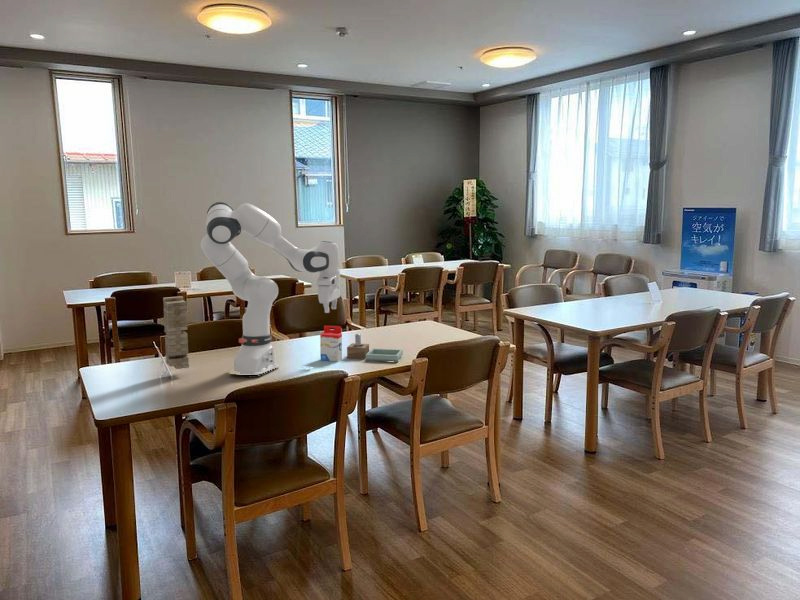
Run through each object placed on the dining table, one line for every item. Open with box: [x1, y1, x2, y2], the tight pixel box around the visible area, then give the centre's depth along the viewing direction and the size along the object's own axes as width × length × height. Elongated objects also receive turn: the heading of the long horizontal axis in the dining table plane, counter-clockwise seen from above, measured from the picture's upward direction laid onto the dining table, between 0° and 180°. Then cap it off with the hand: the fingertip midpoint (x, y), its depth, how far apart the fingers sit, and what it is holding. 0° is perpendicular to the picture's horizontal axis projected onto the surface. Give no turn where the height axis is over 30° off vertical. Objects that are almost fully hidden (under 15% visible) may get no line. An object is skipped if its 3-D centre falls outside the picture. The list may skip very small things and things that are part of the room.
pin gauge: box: [354, 333, 362, 347], centre depth 269 cm, size 2×2×10 cm
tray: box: [365, 348, 404, 363], centre depth 265 cm, size 12×14×3 cm
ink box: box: [319, 325, 343, 362], centre depth 263 cm, size 8×5×15 cm, turn 76°
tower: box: [162, 295, 190, 370], centre depth 250 cm, size 8×8×29 cm
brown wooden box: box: [346, 343, 370, 360], centre depth 269 cm, size 8×8×5 cm
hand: (330, 310), depth 261 cm, fingers open, 8 cm apart
